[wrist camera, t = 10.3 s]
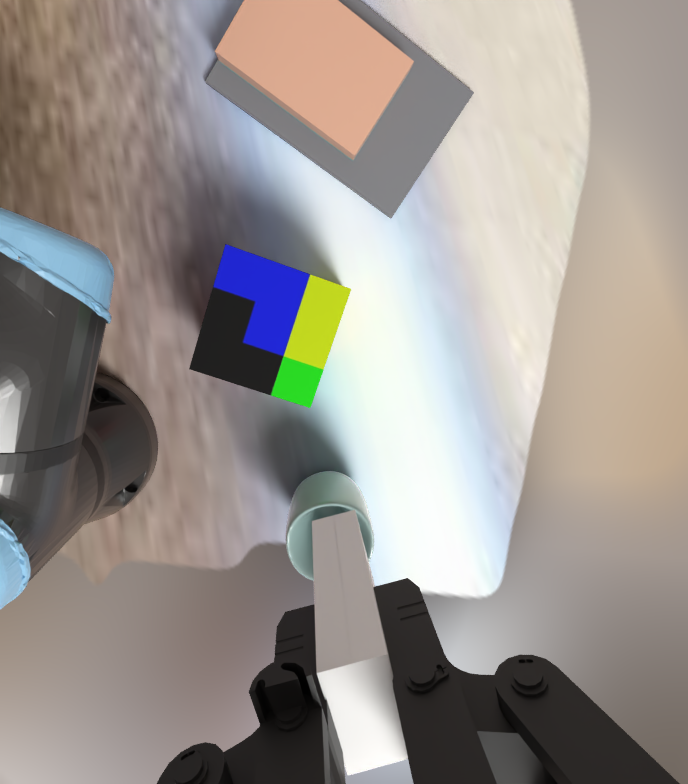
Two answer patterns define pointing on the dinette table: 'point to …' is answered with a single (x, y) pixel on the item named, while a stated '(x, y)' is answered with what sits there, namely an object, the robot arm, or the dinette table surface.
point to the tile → (316, 65)
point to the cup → (323, 514)
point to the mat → (388, 138)
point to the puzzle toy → (268, 326)
